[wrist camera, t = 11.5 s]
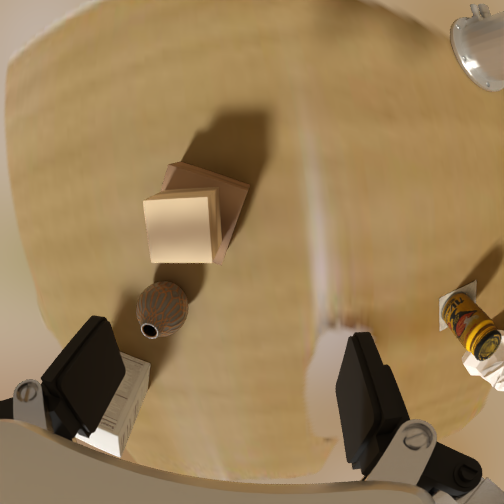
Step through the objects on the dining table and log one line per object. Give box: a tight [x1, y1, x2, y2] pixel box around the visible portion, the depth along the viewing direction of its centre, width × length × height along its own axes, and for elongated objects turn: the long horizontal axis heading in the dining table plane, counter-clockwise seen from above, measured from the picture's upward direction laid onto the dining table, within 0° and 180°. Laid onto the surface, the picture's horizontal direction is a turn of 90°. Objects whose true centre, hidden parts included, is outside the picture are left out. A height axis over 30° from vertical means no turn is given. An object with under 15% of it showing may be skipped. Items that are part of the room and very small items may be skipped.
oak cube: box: [143, 187, 222, 263], centre depth 28 cm, size 6×6×6 cm
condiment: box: [439, 280, 502, 361], centre depth 33 cm, size 7×8×12 cm
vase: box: [136, 281, 188, 339], centre depth 36 cm, size 7×7×9 cm
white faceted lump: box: [462, 330, 504, 391], centre depth 36 cm, size 12×15×14 cm
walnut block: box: [161, 162, 250, 265], centre depth 33 cm, size 9×9×5 cm
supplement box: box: [75, 352, 151, 458], centre depth 39 cm, size 10×9×17 cm
